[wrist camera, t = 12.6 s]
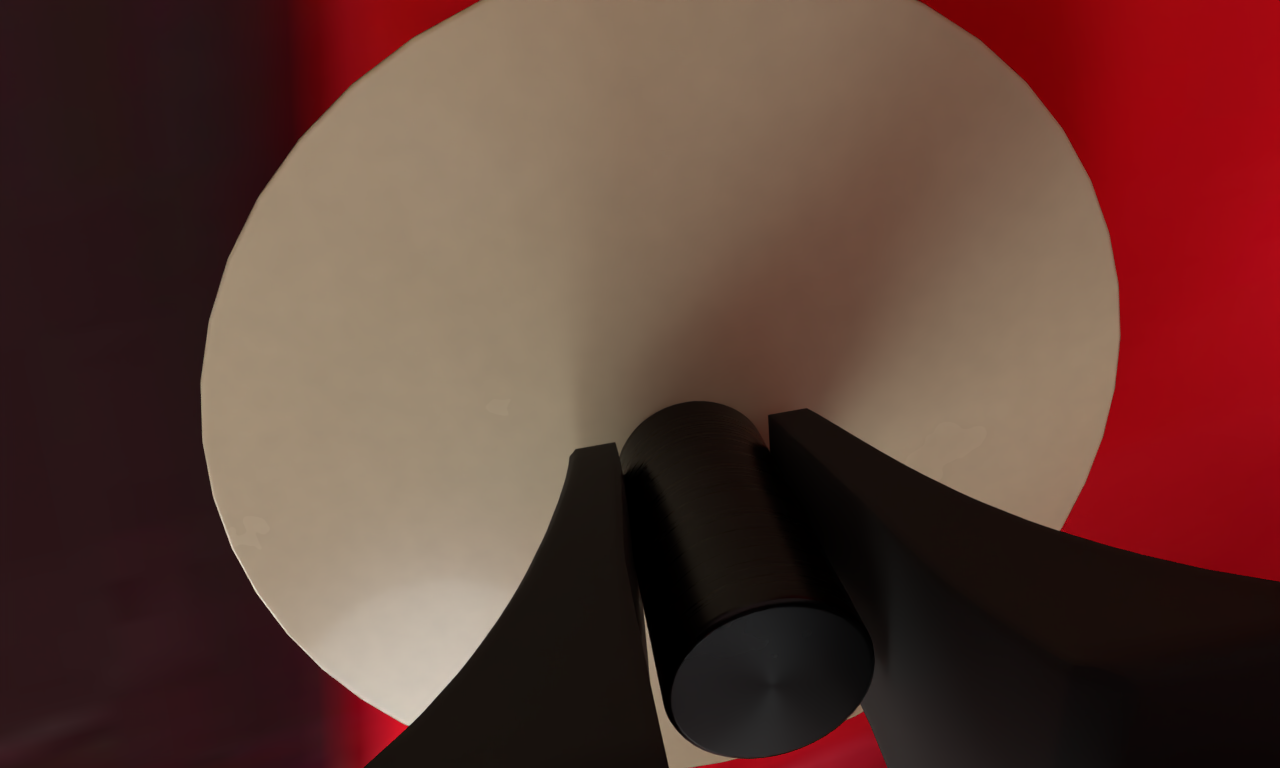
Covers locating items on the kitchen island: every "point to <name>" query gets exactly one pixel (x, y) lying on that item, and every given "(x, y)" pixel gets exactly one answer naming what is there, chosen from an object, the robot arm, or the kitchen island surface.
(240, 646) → the kitchen island surface
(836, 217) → the pot lid
